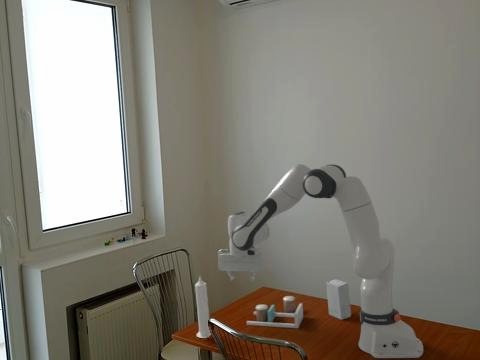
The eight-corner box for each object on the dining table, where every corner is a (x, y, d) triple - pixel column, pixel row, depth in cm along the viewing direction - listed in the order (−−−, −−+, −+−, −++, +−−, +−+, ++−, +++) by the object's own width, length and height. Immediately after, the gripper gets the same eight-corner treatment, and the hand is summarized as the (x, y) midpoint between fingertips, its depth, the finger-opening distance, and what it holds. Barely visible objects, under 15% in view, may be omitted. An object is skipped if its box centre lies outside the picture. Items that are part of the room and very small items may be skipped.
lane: (303, 316, 206) (302, 303, 205) (298, 328, 195) (297, 314, 194) (254, 313, 213) (253, 301, 212) (246, 324, 202) (245, 311, 201)
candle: (203, 330, 200) (197, 272, 197) (217, 333, 196) (212, 274, 193) (193, 337, 194) (187, 278, 191) (207, 340, 190) (202, 280, 187)
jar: (296, 309, 215) (295, 296, 214) (294, 313, 210) (293, 300, 209) (285, 308, 216) (284, 295, 215) (282, 313, 211) (281, 300, 211)
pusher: (280, 316, 207) (279, 305, 206) (275, 324, 200) (274, 312, 199) (272, 316, 208) (271, 304, 207) (268, 323, 201) (267, 311, 200)
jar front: (270, 317, 207) (269, 304, 207) (266, 323, 202) (265, 309, 202) (258, 317, 209) (257, 304, 208) (255, 322, 204) (254, 308, 203)
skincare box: (351, 316, 202) (349, 283, 200) (340, 320, 199) (338, 286, 197) (338, 310, 209) (336, 278, 207) (327, 314, 206) (325, 281, 204)
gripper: (214, 250, 205) (217, 282, 206) (260, 251, 198) (262, 283, 200) (219, 246, 211) (222, 277, 212) (264, 247, 204) (266, 278, 206)
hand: (242, 280), depth 206 cm, fingers open, 8 cm apart
